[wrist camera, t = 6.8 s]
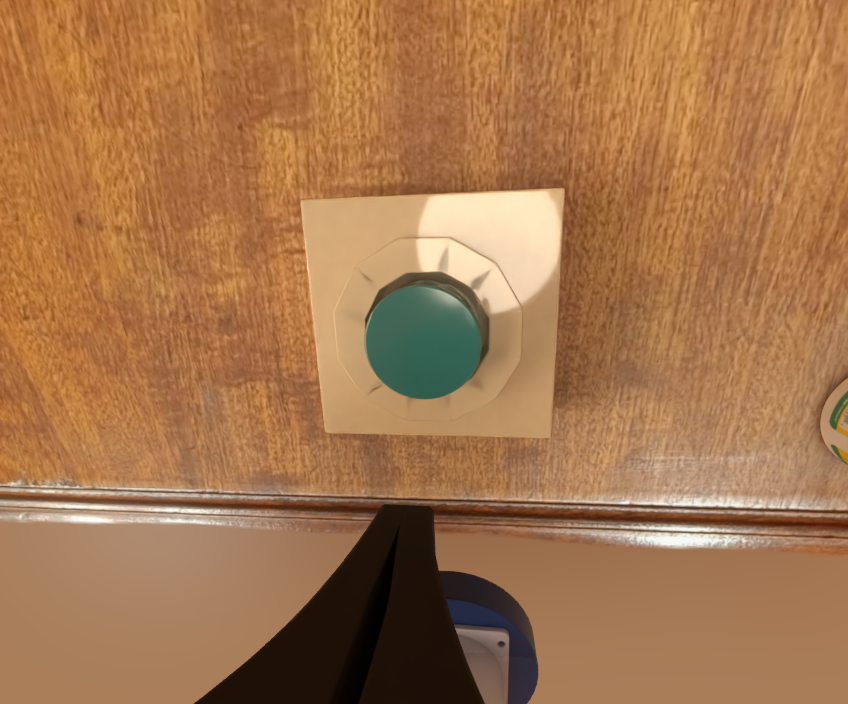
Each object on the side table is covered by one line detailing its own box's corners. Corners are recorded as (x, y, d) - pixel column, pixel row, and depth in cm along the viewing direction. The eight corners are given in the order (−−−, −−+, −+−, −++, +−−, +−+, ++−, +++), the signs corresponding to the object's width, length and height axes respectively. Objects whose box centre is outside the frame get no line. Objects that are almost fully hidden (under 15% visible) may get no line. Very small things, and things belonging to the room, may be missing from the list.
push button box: (540, 408, 21) (560, 461, 16) (344, 405, 22) (309, 453, 18) (550, 194, 18) (576, 182, 14) (326, 203, 20) (278, 195, 15)
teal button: (481, 383, 16) (481, 401, 15) (378, 382, 17) (367, 399, 15) (481, 277, 15) (482, 283, 14) (371, 280, 16) (359, 286, 14)
